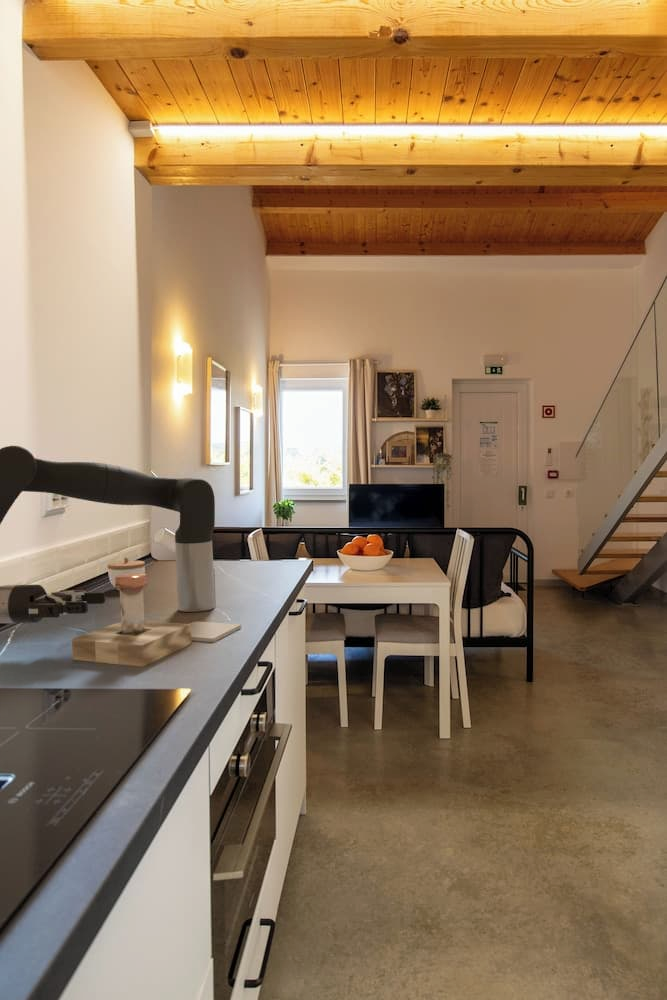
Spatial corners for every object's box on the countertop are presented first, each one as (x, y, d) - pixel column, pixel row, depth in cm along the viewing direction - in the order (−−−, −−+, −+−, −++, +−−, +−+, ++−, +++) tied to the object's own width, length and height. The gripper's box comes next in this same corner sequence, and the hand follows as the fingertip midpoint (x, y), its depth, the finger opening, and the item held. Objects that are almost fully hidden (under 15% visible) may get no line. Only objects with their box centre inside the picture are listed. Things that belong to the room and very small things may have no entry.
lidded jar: (153, 587, 200) (152, 556, 200) (125, 593, 191) (123, 561, 191) (129, 584, 206) (128, 554, 205) (100, 590, 197) (99, 559, 196)
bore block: (126, 638, 141) (125, 619, 140) (191, 643, 135) (190, 624, 135) (73, 659, 126) (71, 639, 125) (143, 666, 120) (142, 645, 120)
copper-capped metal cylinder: (131, 646, 134) (128, 573, 133) (156, 648, 132) (153, 574, 131) (111, 654, 129) (108, 578, 128) (137, 656, 127) (134, 579, 126)
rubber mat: (194, 624, 151) (194, 621, 151) (241, 628, 147) (241, 624, 147) (164, 638, 140) (163, 634, 140) (213, 642, 136) (213, 638, 136)
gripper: (-5, 592, 124) (79, 590, 123) (33, 578, 138) (109, 577, 137) (-3, 631, 124) (82, 630, 123) (35, 614, 138) (111, 612, 138)
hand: (96, 602), depth 130 cm, fingers open, 8 cm apart
